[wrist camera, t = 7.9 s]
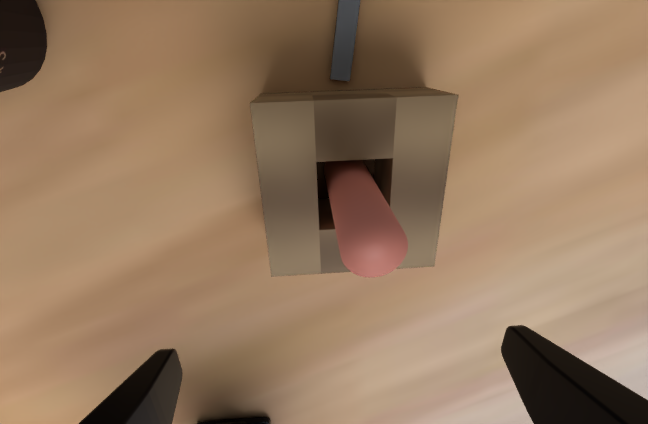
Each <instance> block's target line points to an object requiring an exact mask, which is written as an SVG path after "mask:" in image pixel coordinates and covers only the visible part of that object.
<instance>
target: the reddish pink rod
mask: <svg viewBox="0 0 648 424" xmlns="http://www.w3.org/2000/svg"><path fill="white" fill-rule="evenodd" d="M324 173H325V179H326V184H327V189H328V194H329V199H330V204H331V210H332V215H333V220H334V225H335V230H336V235H337V240H338V246H339V251H340V256H341V259H342V262H343V264H344V265H345V266H346V268H347V269H348V270H350V271H351V272H353V273H354V274H356V275H359V276H363V277H378V276H382V275H385V274H388V273H390V272H391V271H393V270H394V269H396V268H397V267H398V266H399V265H400V264H401V263H402V261H403V260H404V258H405V256H406V254H407V250H408V240H407V236H406V234H405V232H404V230H403V229H402V227H401V225H400V224H399V222H398V220H397V219H396V217H395V215H394V213H393V212H392V210H391V208H390V207H389V205H388V203H387V202H386V200H385V198H384V196H383V195H382V193H381V191H380V190H379V188H378V186H377V184H376V183H375V181H374V179H373V178H372V176H371V174H370V173H369V171H368V169H367V167H366V166H365V164H364V162H363V161H362V160H345V161H326V163H325V167H324Z"/></svg>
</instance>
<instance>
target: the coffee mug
mask: <svg viewBox="0 0 648 424" xmlns="http://www.w3.org/2000/svg"><path fill="white" fill-rule="evenodd" d="M46 49H47V40H46V30H45V25H44V21H43V17H42V15H41V12H40V10H39V7H38V5H37V3H36V1H35V0H0V92H2V91H6V90H9V89H13V88H16V87H18V86H21V85H24V84H25V83H27V82H28V81H30V80H31V79H33V78H34V76H35V75H36V74H37V73H38V72H39V70H40V68H41V66H42V64H43V62H44V60H45V54H46Z"/></svg>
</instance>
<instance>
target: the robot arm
mask: <svg viewBox="0 0 648 424" xmlns="http://www.w3.org/2000/svg"><path fill="white" fill-rule="evenodd" d="M501 353H502V356H503V359H504V361H505V363H506V365H507V368H508V370H509V372H510V374H511V377H512V379H513V381H514V383H515V385H516V388H517V390H518V392H519V394H520V397H521V399H522V401H523V403H524V405H525V407H526V410H527V412H528V414H529V416H530V417H531V419H532V421H533V423H534V424H648V400H646V399H645V398H643V397H641V396H640V395H638V394H637V393H635V392H633V391H632V390H630V389H628V388H627V387H625V386H623V385H622V384H620V383H618V382H617V381H615V380H613V379H612V378H610V377H608V376H607V375H605V374H604V373H602V372H600V371H599V370H597V369H595V368H594V367H592V366H590V365H589V364H587V363H585V362H584V361H582V360H580V359H579V358H577V357H575V356H574V355H572V354H571V353H569V352H567V351H566V350H564V349H562V348H561V347H559V346H557V345H556V344H554V343H552V342H551V341H549V340H547V339H546V338H544V337H542V336H541V335H539V334H537V333H536V332H534V331H533V330H531V329H529V328H528V327H526V326H523V325H518V326H509V327H508V328H507V329H506V332H505V335H504V339H503V343H502V346H501ZM181 381H182V368H181V364H180V361H179V358H178V354H177V351H176V350H175V349H161V350H158V351H157V352H155V353H154V354H153V355H152V356H151V357H150V358H149V359H148V360H147V361H146V362H144V363H143V364H142V365H141V366H140V367H139V368H138V369H137V370H136V371H135V372H134V373H133V374H132V375H130V376H129V377H128V378H127V379H126V380H125V381H124V382H123V383H122V384H121V385H120V386H119V387H117V388H116V389H115V390H114V391H113V392H112V393H111V394H110V395H109V396H108V397H107V398H106V399H105V400H103V401H102V402H101V403H100V404H99V405H98V406H97V407H96V408H95V409H94V410H93V411H92V412H90V413H89V414H88V415H87V416H86V417H85V418H84V419H83V420H82V421H81V422H80V423H79V424H172V421H173V417H174V412H175V408H176V403H177V399H178V395H179V390H180V386H181ZM197 424H271V421H270V419H269V418H267V417H259V418H246V419H234V420H221V421H209V422H199V423H197Z"/></svg>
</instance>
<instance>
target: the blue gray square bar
mask: <svg viewBox="0 0 648 424" xmlns="http://www.w3.org/2000/svg"><path fill="white" fill-rule="evenodd" d="M359 7H360V0H339V1H338V11H337V20H336V29H335V38H334V48H333V57H332V66H331V75H330V79H334V80H343V81H350V75H351V67H352V60H353V52H354V45H355V37H356V30H357V22H358V14H359Z"/></svg>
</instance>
